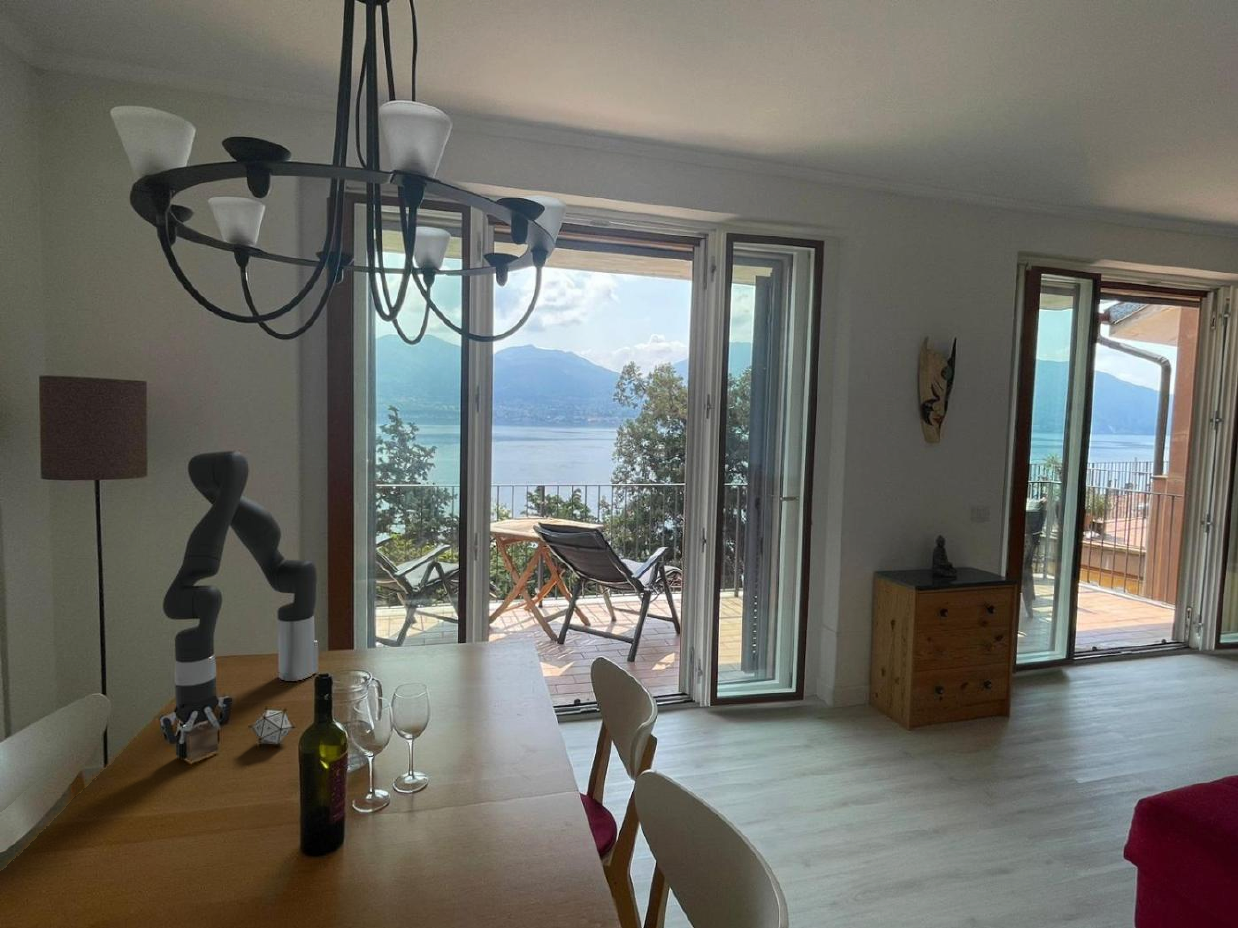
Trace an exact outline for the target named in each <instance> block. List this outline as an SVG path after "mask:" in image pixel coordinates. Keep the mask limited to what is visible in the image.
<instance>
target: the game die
mask: <svg viewBox="0 0 1238 928" xmlns="http://www.w3.org/2000/svg"><path fill="white" fill-rule="evenodd" d="M264 709H265V711H264V712H262V714H261V715H260V716H259V718H258V719H257V720H256V721H255V722H254V724H253V725H248V726H247V727H248V728H249V729H250V728H251V729H252V730H253V733H254V734H255V736H256V738H257V742H258V743H261V744H265V745H267V744H268V745H276V746H277V745H280V743H281V742H282V741H283V740H284V739H285V737H286V736H287V735H288V733H289V732H290V731H291V730H292V729H296V728H297V726H296V725H293V724H292V723H291V721H290V719H289V717H288V715H287V710H288V707H286V708H284V709H283V710H280V709H279V710H278V709H269V708H268V706H265V707H264Z"/></svg>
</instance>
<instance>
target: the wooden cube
mask: <svg viewBox="0 0 1238 928" xmlns="http://www.w3.org/2000/svg"><path fill="white" fill-rule="evenodd" d="M185 742H186V750H187V759H188V760H190V761H192V760H194V759H197V758H199V757H203V756H206V755H207V754H209V753H211V752H214V751H217V750H218V751H219V743H218V734H217V727H216V726H211V724H210V723H207V722H206V721H205V722H199V723H198V724H196V725H193V726H192V728H191V731H190V732H189V733H188V735H186V740H185Z"/></svg>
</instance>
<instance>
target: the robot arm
mask: <svg viewBox="0 0 1238 928" xmlns="http://www.w3.org/2000/svg"><path fill="white" fill-rule="evenodd" d="M249 470H250V468H249V464H248V461H247V458H246V457H245V455H244V454H243V453H241V452H239V451H235V450H225V451H216V452H215V451H214V452H206V453H200V454H196V455H194V456H193V457H191V458H190V460H189V462H188V465H187V473H188V476H189V478H190V481H191V483H192V485H193V486H194V487H195V488H196V490H197V491H198V492H199V494H201V495H202V497H204V498H205V500H206V501H207V502H209V503H210V504H211V507H210V508H209V510H208V511H207V512H206V513H205V514H204V516H203V517H202V518H201V519H200V520H199V521H198V523H197V524H196V525H195V527H194V528H193V530H192V531H191V533H190V535H189V538H188V540H187V543H186V547H185V552H184V556H183V560H182V564H181V566H180V568H179V570H178V572H177V574H176V576H175V578H174V579H173V581H172V582H171V584H170V586H169V588H168V589H167V590H166V593H165V595H164V597H163V602H162V609H163V613H164V615H165V617H166V618H168V619H170V620H177V621H178V620H181V621H182V620H199V622H198V625H196V626H193V627H189V628H186V629H183V630H180V631H179V632H177V634H176V635H175V638H174V650H175V651H174V652H175V656H174V657H175V665H174V691H175V696H174V697H175V707H174V710H173V712H171V713H169V714H167V715H160V716H159V718H158V722H159V724H160V727H161V729H160V730H161V732H162V736H163V739H164V741H165V742H167V743H169V745H175V755H176V756H177V757H178V758H179V759H181V758H182V759H185V758H187V750H186V742H185V740H186V735H188V733H189V732H190V731H191V728H192V726H193V725H196V724H198V723H200V722H205V721H206V722H207V723H210V724H211V726H216V727H217V734H218V744H219V743H220V741H221V739H220V736H221V735H220V730H221V728H222V727H223V726H226V725H228V724H229V722H230V716H231V711H232V710H231V709H232V706H233V705H232V704H233V698H232V697H230V696H228V695H225V694H224V695H222V696H221V697H218V695H217V691H218V690H217V689H218V687H217V663H216V658H215V645H214V643H215V642H214V641H215V639H214V637H215V630H216V626H217V622H218V621H217V620H218V619H219V614H220V610H221V608H222V604H223V596H222V593H221V590H220V589H219V588H218V587H217V586H214V585H210V584H209V585H207V584H206V585H195V584H196V583H197V582H198V581H201V580H204V579H208V578H212V577H215V576H216V575H217V574H218V572H219V570H220V566H221V561H222V557H223V551H224V547H225V541H226V538H227V535H228V531H229V528H230V527H231V530H233V532H234V533H235V535H236V536H237V537H238V539H239V540H240V542H241V543H242V544H243V546H245V548H246V549H247V550H248V551H249V553H250V555H251V556H252V558H253V559H254V560H255V562H256V563H257V564H258V565H259V568H260V569H261V571H262V573H263V575H264V577H265V579H266V580H267V582H268V584H269V586H270V587H271V588H272V589H273V590H274V591H275V592H278V593H283V594H293V600H292V601H293V602H289V603H287V604H284V605H283V604H282V606H280V607H279V608H278V609H277V642H278V643H277V644H278V645H277V647H278V648H277V649H278V679H279V678H280V679H281V680H285V681H292V680H298V679H302V678H306V677H308V676H311V675H312V674H313V673H316V672H317V671H318V672H319V644H318V643H319V642H318V640H317V639H315V607H316V602H317V601H316V600H317V578H318V577H317V568H316V566H315V564H314V563H313V562H311V561H309V560H301V559H300V560H297V559H287V558H286V557H285V556H283V555H282V553H281V552H280V551H279V549H278V548H279V545H280V541H281V536H282V530H281V527H280V525H279V524H278V522H277V520H275V518H274V516H273V515H272V514H271V512H270V511H269V510H268V509H267V508H266V507H264V506H263V505H261V504H260V503H258V502H256V501H254V500H252V499H250V498H248V497H246V496H244V495H243V493H244V490H245V487H246V485H247V482H248V478H249V472H250V471H249ZM316 674H318V673H316ZM316 674H315V675H316ZM280 679H279V680H280ZM281 680H280V681H281ZM217 706H218V707H219V712H218V715H217V716H218V717H216V716H215V714H214V711H215V710H216V708H217ZM175 719H178V720H179V721H178V723H177V727H176V733H175V732H174V729H173V725H174V724H175ZM182 759H181V760H182Z"/></svg>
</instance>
